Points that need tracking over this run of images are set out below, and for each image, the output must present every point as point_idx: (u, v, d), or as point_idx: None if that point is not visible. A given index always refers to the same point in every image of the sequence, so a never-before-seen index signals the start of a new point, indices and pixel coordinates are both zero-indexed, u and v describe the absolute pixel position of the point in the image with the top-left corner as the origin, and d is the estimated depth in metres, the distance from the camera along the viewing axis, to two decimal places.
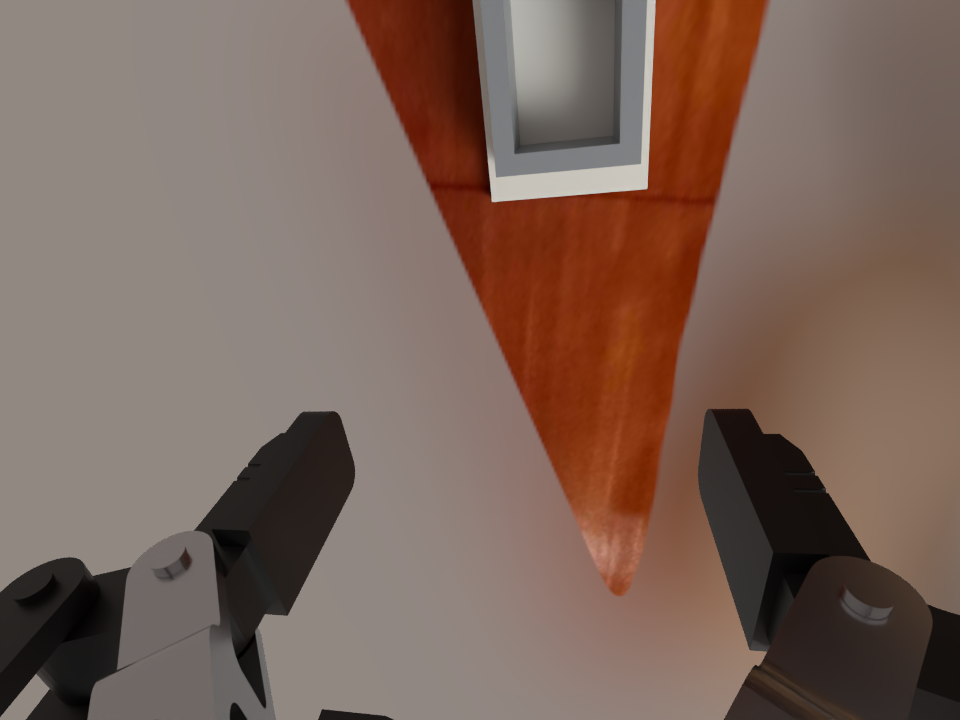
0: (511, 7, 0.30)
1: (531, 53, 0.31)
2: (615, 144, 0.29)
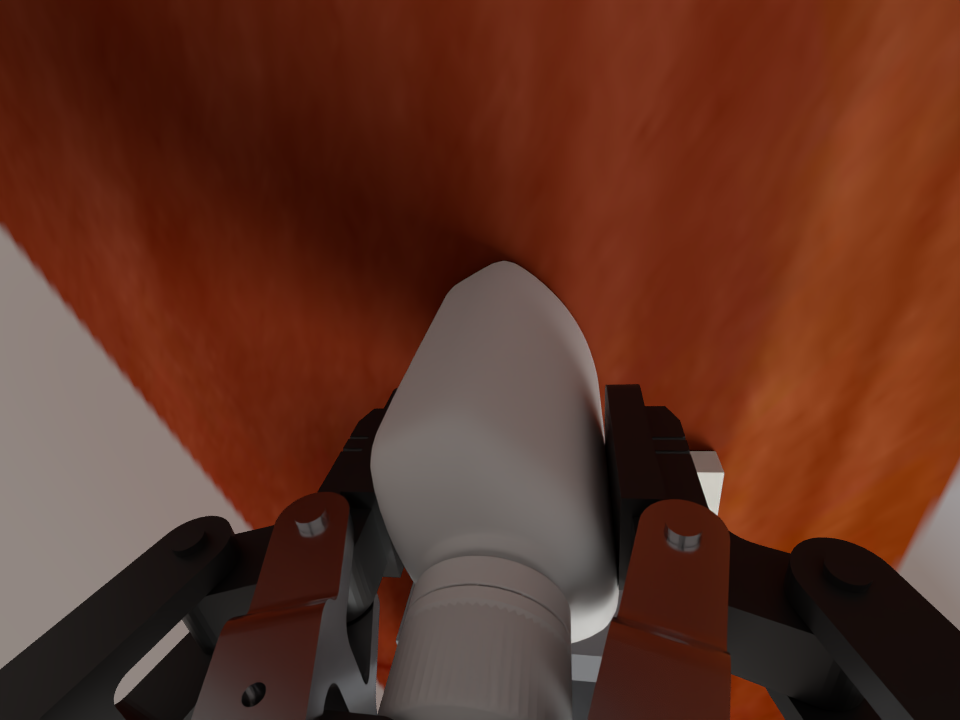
0: None
1: None
2: None
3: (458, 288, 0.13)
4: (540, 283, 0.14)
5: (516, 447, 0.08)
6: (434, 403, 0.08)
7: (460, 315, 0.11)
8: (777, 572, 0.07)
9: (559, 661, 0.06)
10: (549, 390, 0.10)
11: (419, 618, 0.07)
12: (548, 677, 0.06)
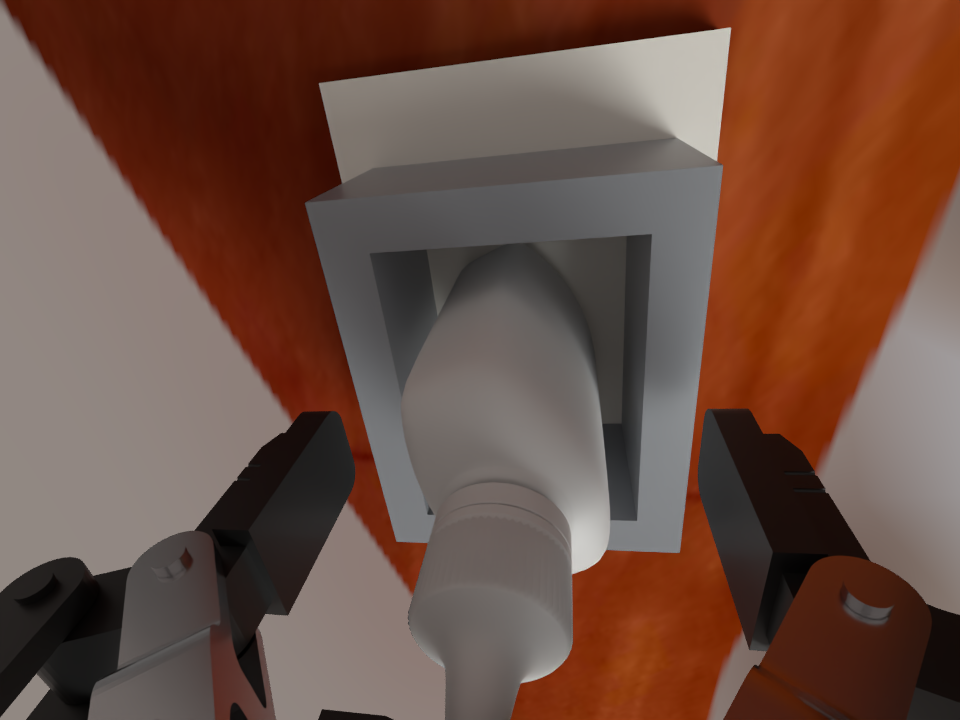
0: None
1: None
2: (628, 518, 0.14)
3: (473, 265, 0.15)
4: (548, 264, 0.15)
5: (530, 395, 0.09)
6: (461, 355, 0.09)
7: (478, 286, 0.12)
8: None
9: None
10: (557, 355, 0.11)
11: (446, 529, 0.08)
12: (555, 576, 0.07)
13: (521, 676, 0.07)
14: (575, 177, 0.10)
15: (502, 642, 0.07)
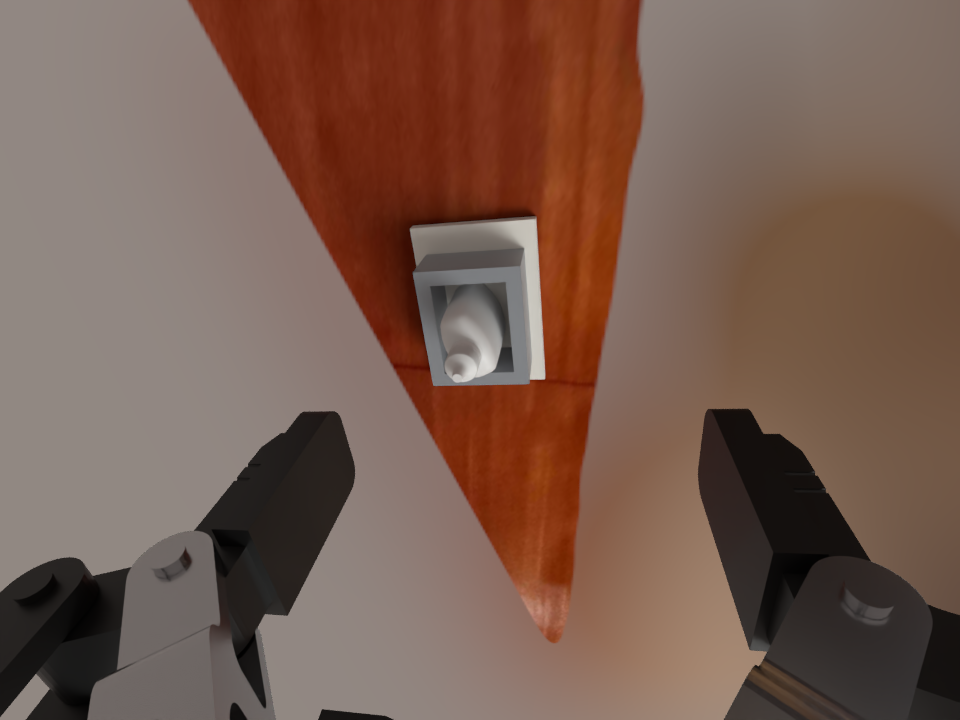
0: None
1: None
2: (511, 372, 0.43)
3: (460, 287, 0.43)
4: (486, 287, 0.43)
5: (472, 322, 0.37)
6: (455, 312, 0.38)
7: (461, 295, 0.41)
8: None
9: (477, 356, 0.36)
10: (482, 314, 0.39)
11: (452, 349, 0.36)
12: (474, 356, 0.36)
13: (466, 371, 0.35)
14: (485, 267, 0.38)
15: (463, 364, 0.35)
